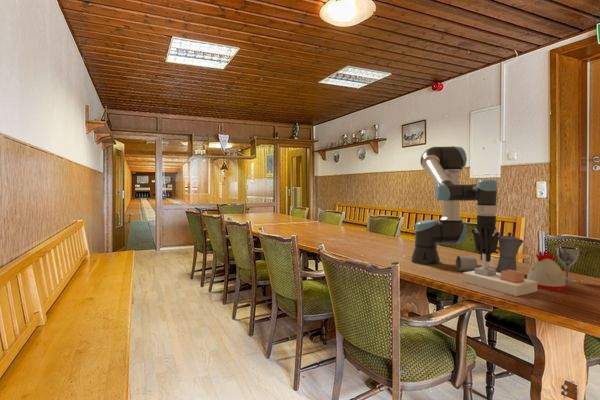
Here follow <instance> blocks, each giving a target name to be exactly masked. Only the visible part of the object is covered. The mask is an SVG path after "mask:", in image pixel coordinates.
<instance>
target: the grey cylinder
mask: <svg viewBox="0 0 600 400" xmlns="http://www.w3.org/2000/svg"><path fill="white" fill-rule="evenodd" d="M455 267H456V270H457V271H458V272H469V271H475V268H478V261H477V259H476V258H475V257H474V256H468V255H466V256H465V255H457V256H456V258H455Z"/></svg>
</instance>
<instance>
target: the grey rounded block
mask: <svg viewBox="0 0 600 400" xmlns="http://www.w3.org/2000/svg"><path fill="white" fill-rule="evenodd" d="M496 270H497V268H496V269H495V268H491V267H489V268H488V269H483V268H482V266H480V267H477V268H475V274H479V275H484V276H492V275H496V272H497V271H496Z"/></svg>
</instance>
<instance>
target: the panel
mask: <svg viewBox="0 0 600 400" xmlns="http://www.w3.org/2000/svg"><path fill="white" fill-rule="evenodd" d="M462 282H463V283H467V284H470V285H474V286H477V287H481V288H485V289H488V290H492V291H496V292H499V293H504V294H507V295H510V296H515V297H519V296H522V295H523V296H524V295H528V294H532V293H535V292H538V288H537V281H533V280H528V279H527V278H524V281H522V282H517V283H513V282H509V281H505V280H501V273H499V272H497V271H496V275H492V276H484V275H479V274H475V271H463V272H462Z"/></svg>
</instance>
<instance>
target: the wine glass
mask: <svg viewBox="0 0 600 400" xmlns="http://www.w3.org/2000/svg"><path fill="white" fill-rule="evenodd" d="M579 253H580V248H579V247H576V246H575V247H574V246H568V245H567V246H566V245H565V246H564V245H559V246H556V255H557V256H556V257H557V259H558V260H559V262H560V263H561V264H562V265H563V267H564V270H565V277H564V278H565V282H566V283H573V284H576V283H577V282H578V281H577V280H575V279H571V278H569V271H570V268H571V267H572V266H573V265H574V264H575V263H576V262H577V261H578V259H579V255H580V254H579Z"/></svg>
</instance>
